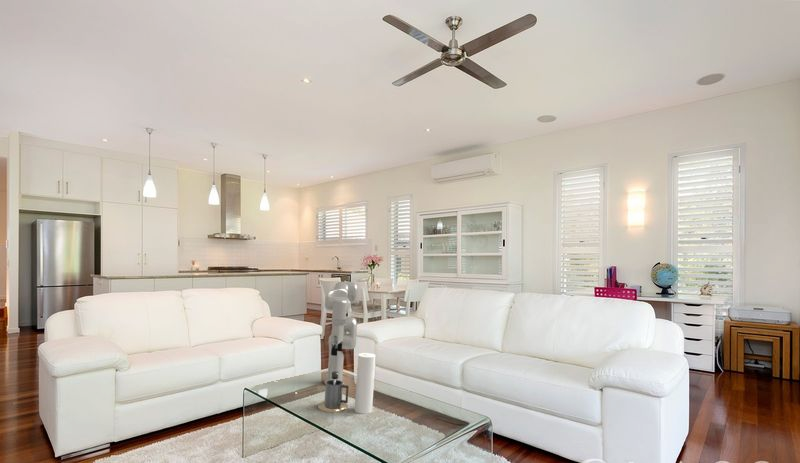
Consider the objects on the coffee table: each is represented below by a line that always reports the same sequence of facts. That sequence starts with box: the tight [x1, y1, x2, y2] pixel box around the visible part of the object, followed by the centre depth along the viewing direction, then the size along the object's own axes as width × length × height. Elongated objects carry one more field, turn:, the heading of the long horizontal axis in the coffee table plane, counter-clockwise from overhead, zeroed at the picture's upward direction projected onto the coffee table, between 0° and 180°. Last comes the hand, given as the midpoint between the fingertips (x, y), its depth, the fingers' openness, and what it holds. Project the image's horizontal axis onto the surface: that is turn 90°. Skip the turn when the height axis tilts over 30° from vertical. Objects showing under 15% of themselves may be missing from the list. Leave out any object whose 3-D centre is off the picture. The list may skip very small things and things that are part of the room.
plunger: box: [332, 371, 339, 385], centre depth 230 cm, size 7×7×15 cm
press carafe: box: [317, 380, 350, 413], centre depth 230 cm, size 16×16×13 cm
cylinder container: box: [354, 352, 377, 415], centre depth 228 cm, size 9×9×30 cm
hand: (336, 353), depth 231 cm, fingers open, 9 cm apart
